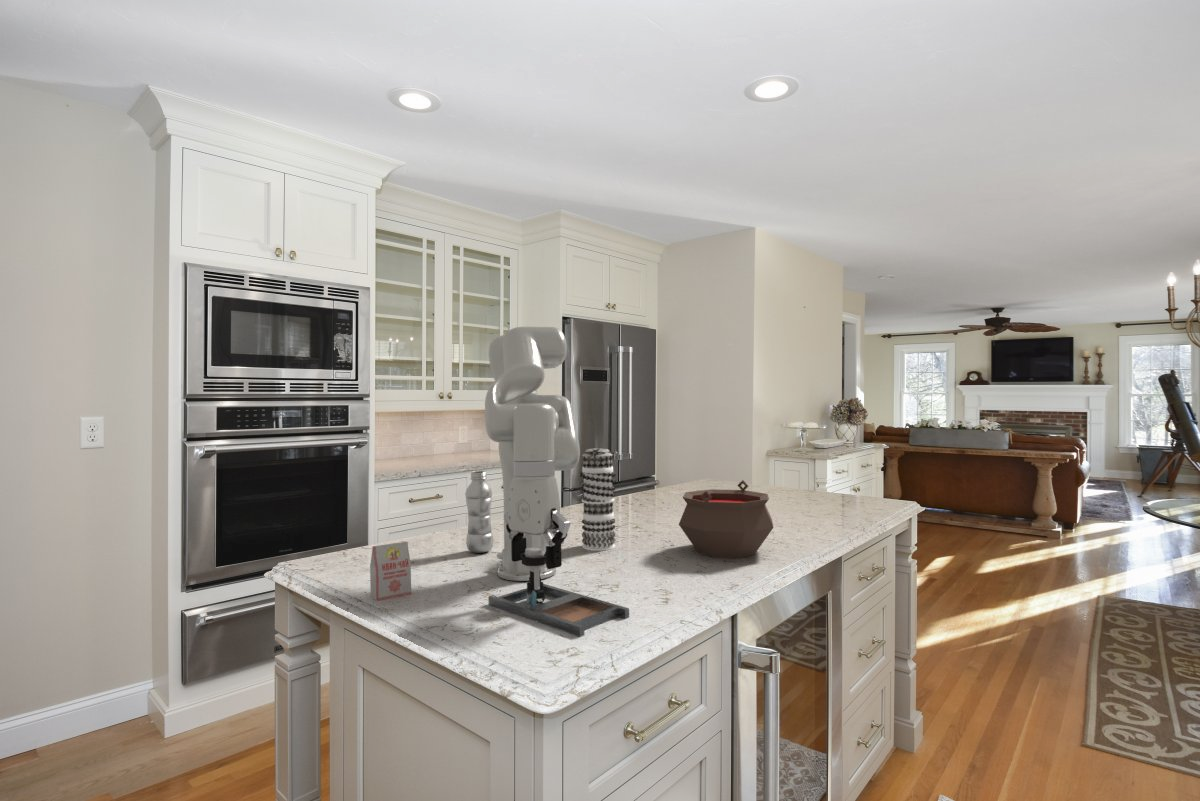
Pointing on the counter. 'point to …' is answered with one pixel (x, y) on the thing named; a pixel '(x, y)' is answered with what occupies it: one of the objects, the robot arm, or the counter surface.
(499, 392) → the robot arm
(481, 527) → the plastic bottle
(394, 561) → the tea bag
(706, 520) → the brown cauldron
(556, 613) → the rail
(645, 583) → the counter surface
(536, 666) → the counter surface
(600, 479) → the decorative candle
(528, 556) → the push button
